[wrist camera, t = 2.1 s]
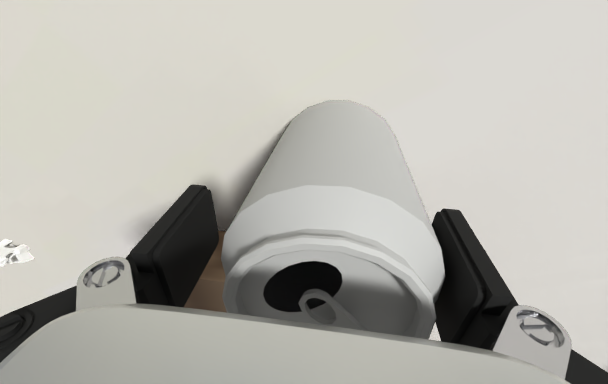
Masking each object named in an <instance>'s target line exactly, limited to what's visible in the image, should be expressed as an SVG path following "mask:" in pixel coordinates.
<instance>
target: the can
mask: <svg viewBox="0 0 608 384" xmlns="http://www.w3.org/2000/svg"><path fill="white" fill-rule="evenodd" d="M221 261H222V265H223V268H224V272H225V275H226V277H225V283H224V289H223V294H222V298H223V302H224V305H225V308H226V311H227V313H234V314H242V315H249V316H257V317H265V318H273V319H281V320H288V321H296V322H304V323H311V324H319V325H326V326H334V327H341V328H349V329H356V330H363V331H371V332H378V333H385V334H393V335H400V336H407V337H415V338H421V339H429V337H430V334H431V331H432V329H433V326H434V323H435V320H436V314H435V309H434V303H435V302H436V301H437V299H438V296H439V293H440V290H441V288H442V285H443V282H444V279H445V270H444V263H443V257H442V250H441V247H440V244H439V242H438V240H437V237H436V235H435V232H434V230H433V227H432V225H431V222H430V220H429V217H428V215H427V212H426V210H425V208H424V205H423V203H422V200H421V198H420V195H419V193H418V190H417V188H416V185H415V183H414V180H413V178H412V176H411V173H410V171H409V168H408V166H407V163H406V161H405V158H404V156H403V153H402V151H401V148H400V146H399V144H398V141H397V139H396V136H395V134H394V133H393V131H392V130H391V128H390V126H389V125H388V123H387V122H386V120H385V119H384V118H383V117H381V116H380V115H379V114H378V113H376V112H375V111H374V110H372V109H371V108H370V107H368V106H365V105H362V104H359V103H356V102H352V101H349V100H328V101H325V102H322V103H319V104H316V105H313V106H310V107H308V108H307V109H305V110H304V111H303V112H301V113H300V114H299V115H297V116H296V117H295V118H293V120H292V121H291V123H290V124H289V126H288V127H287V129H286V130H285V132H284V133H283V135H282V137H281V138H280V140H279V142H278V143H277V145H276V147H275V149H274V150H273V152H272V154H271V155H270V157H269V159H268V161H267V162H266V164H265V166H264V168H263V169H262V171H261V173H260V174H259V176H258V178H257V180H256V181H255V183H254V185H253V187H252V188H251V190H250V192H249V193H248V195H247V197H246V199H245V200H244V202H243V204H242V205H241V207H240V209H239V211H238V212H237V214H236V216H235V218H234V219H233V221H232V223H231V224H230V226H229V228H228V230H227V231H226V233H225V235H224V241H223V247H222V254H221Z"/></svg>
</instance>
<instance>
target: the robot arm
mask: <svg viewBox="0 0 608 384" xmlns="http://www.w3.org/2000/svg"><path fill="white" fill-rule="evenodd" d="M432 227H433V230H434V232H435V235H436V237H437V240H438V242H439V244H440V247H441V250H442V257H443V263H444V270H445V279H444V282H443V285H442V288H441V290H440V293H439V296H438V299H437V301H436V302H435V303H434V309H435V314H436V320H435V322H436V325H437V328H438V332H439V335H440V338H441V341H442V342H441V341H434V340H428V339H421V338H415V337H407V336H400V335H393V334H385V333H378V332H371V331H363V330H356V329H349V328H341V327H334V326H326V325H319V324H311V323H304V322H296V321H288V320H281V319H273V318H265V317H257V316H249V315H242V314H234V313H226V312H218V311H210V310H202V309H193V308H184V306H185V304H186V302H187V300H188V299H189V297H190V295H191V293H192V291H193V289H194V287H195V286H196V284H197V282H198V280H199V278H200V276H201V275H202V273H203V271H204V269H205V267H206V265H207V264H208V262H209V260H210V258H211V256H212V254H213V253H214V251H215V249H216V247H217V245H218V242H219V234H218V228H217V222H216V217H215V211H214V206H213V200H212V194H211V191H210V190H208V189H207V187H206V186H202V185H190V186H189V187H188V188H187V190H186V191H185V192H184V193H183V194H182V195H181V196H180V197H179V198H178V200H177V201H176V202H175V203H174V204H173V205H172V206H171V207H170V208H169V210H168V211H167V212H166V213H165V214H164V215H163V216H162V217H161V218H160V219H159V221H158V222H157V223H156V224H155V225H154V226H153V227H152V228H151V229H150V231H149V232H148V233H147V234H146V235H145V236H144V237H143V238H142V239H141V241H140V242H139V243H138V244H137V245H136V246H135V247H134V248H133V249H132V251H131V252H130V254H129V255H128V256H127V257H126V258H122V257H110V258H106V259H102V260H100V261H98V262H95V263H94V264H92V265H90V266H89V267H88V268H86V269H85V270H84V271H83V272H82V273H81V275H80V276H79V278H78V281H77V286H75V287H72V288H70V289H67V290H65V291H62V292H60V293H57V294H55V295H52V296H50V297H47V298H45V299H42V300H40V301H37V302H35V303H33V304H30V305H28V306H25V307H23V308H20V309H18V310H15V311H13V312H10V313H8V314H6V315H4V316H2V317H0V384H608V373H607V372H606V371H604V370H603V369H601V368H600V367H598V366H597V365H595V364H594V363H592V362H590V361H589V360H587V359H586V358H584V357H583V356H581V355H580V354H578V353H577V352H575V351H574V350H572V349H571V347H572V344H571V339H570V336H569V334H568V332H567V331H566V330H565V329H564V327H563V326H562V325H561V324H560V323H559V322H558V321H556V320H555V319H554V318H553V317H551V316H550V315H548V314H547V313H545V312H543V311H541V310H539V309H537V308H534V307H531V306H527V305H518V303H517V302H516V300H515V299H514V297H513V295H512V294H511V292H510V290H509V289H508V287H507V286H506V284H505V282H504V281H503V279H502V277H501V276H500V274H499V273H498V271H497V269H496V268H495V266H494V264H493V263H492V261H491V260H490V258H489V256H488V255H487V253H486V252H485V250H484V249H483V247H482V245H481V244H480V242H479V240H478V239H477V237H476V236H475V234H474V232H473V231H472V229H471V228H470V226H469V224H468V223H467V221H466V219H465V218H464V216H463V215H462V213H461V212H460V210H453V209H442V210H441V212H437V213H436V215H435V217H434V220H433V223H432Z"/></svg>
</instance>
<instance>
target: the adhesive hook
mask: <svg viewBox="0 0 608 384" xmlns="http://www.w3.org/2000/svg"><path fill="white" fill-rule="evenodd" d="M11 242H13V241H12V240H7V239H4V240H2V241H0V266H3V267H5V265H6V263H10V264H12V263H24V262H27V261H30V260H33V259H35V258H34V257H33V256H32V255H31V254H30V253H29V252H28V251H29V250H30V248H29V246H28V245H24V244H21V245H19V246H17V247H15V246H14V245H12V244H9V243H11Z"/></svg>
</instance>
